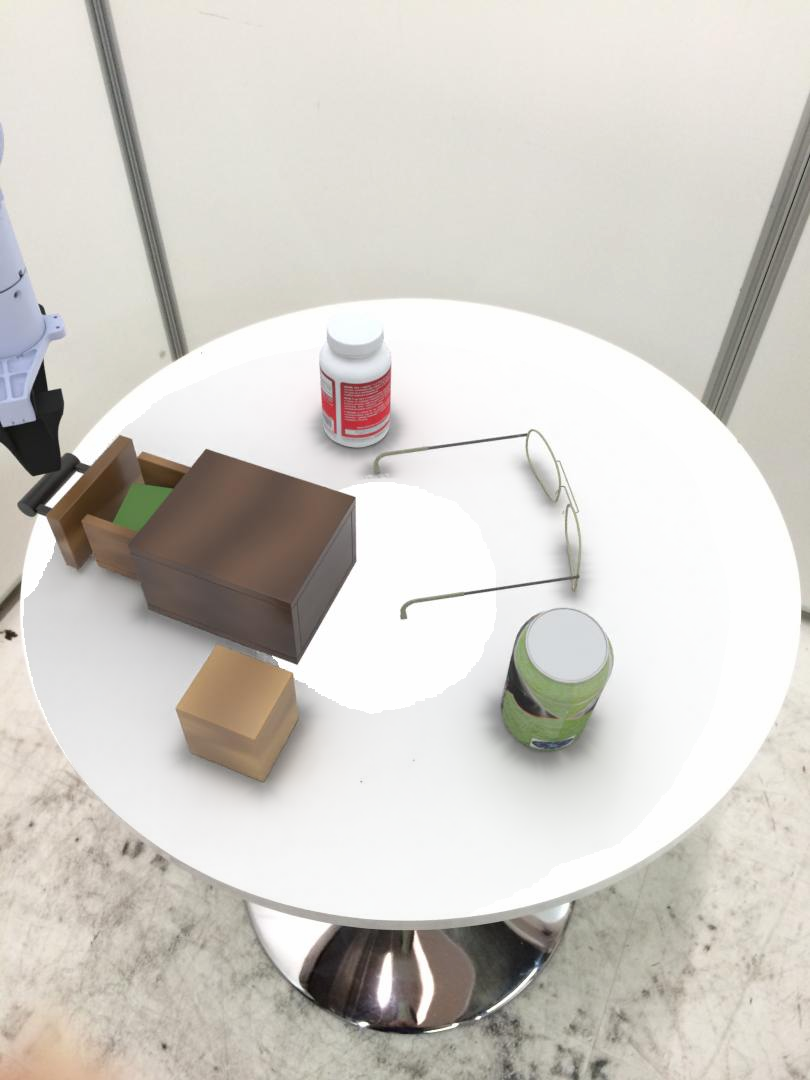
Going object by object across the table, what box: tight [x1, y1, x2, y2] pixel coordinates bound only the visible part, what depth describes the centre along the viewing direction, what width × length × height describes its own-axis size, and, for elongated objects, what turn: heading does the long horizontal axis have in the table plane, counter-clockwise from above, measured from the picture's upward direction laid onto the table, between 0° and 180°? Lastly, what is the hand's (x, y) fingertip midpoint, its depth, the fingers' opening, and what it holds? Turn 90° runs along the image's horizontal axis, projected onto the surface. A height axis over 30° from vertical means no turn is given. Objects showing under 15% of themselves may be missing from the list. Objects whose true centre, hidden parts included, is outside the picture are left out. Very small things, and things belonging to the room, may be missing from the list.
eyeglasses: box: [373, 428, 582, 621], centre depth 70 cm, size 16×15×5 cm
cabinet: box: [128, 448, 357, 666], centre depth 65 cm, size 13×11×8 cm
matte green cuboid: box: [113, 483, 173, 532], centre depth 67 cm, size 5×4×3 cm
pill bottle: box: [318, 310, 392, 448], centre depth 76 cm, size 6×6×11 cm
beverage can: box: [500, 606, 615, 751], centre depth 56 cm, size 6×7×12 cm
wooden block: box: [175, 644, 299, 783], centre depth 57 cm, size 6×5×6 cm
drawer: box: [16, 434, 192, 583], centre depth 67 cm, size 16×9×6 cm, turn 68°
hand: (39, 435), depth 64 cm, fingers open, 7 cm apart
